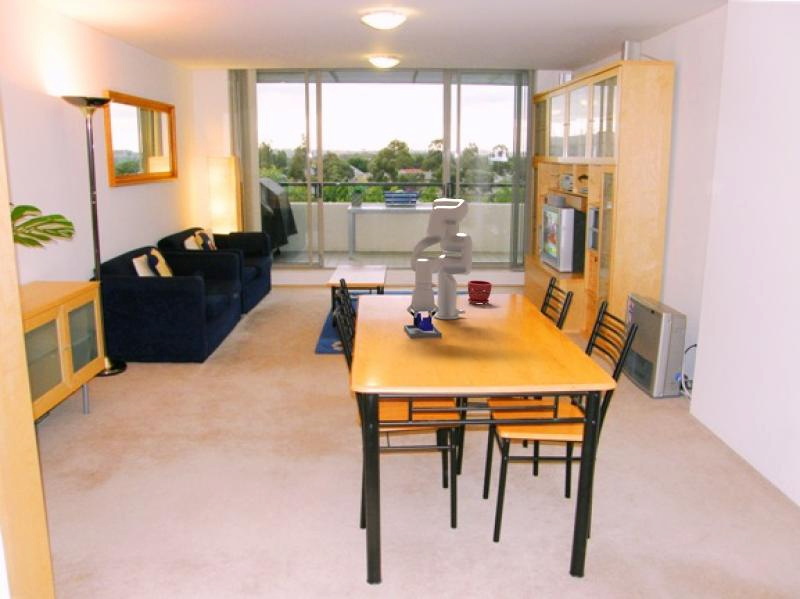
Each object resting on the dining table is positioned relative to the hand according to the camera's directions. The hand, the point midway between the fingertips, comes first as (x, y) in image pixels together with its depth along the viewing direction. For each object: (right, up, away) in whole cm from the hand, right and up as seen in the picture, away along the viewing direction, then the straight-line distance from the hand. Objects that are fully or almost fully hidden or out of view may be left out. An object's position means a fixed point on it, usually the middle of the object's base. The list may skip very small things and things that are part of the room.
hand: (422, 325), depth 327 cm
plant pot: (+34, +10, +76) cm, 84 cm away
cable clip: (0, -1, 0) cm, 1 cm away
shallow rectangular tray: (0, -4, +1) cm, 4 cm away
